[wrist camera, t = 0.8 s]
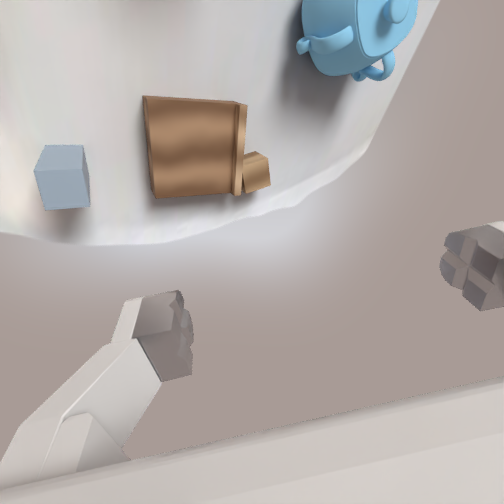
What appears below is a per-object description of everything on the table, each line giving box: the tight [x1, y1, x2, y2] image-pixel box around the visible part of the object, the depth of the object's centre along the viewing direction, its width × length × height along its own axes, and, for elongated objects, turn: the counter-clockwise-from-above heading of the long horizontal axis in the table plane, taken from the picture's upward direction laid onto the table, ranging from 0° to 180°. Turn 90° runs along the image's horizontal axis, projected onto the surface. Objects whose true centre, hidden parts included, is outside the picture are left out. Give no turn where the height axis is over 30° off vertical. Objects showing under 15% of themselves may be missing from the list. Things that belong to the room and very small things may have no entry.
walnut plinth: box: [143, 96, 247, 198], centre depth 46 cm, size 14×14×6 cm
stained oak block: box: [241, 151, 271, 194], centre depth 52 cm, size 5×5×5 cm
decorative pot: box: [296, 0, 418, 81], centre depth 42 cm, size 16×16×14 cm
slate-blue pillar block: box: [34, 145, 90, 210], centre depth 37 cm, size 4×4×12 cm
